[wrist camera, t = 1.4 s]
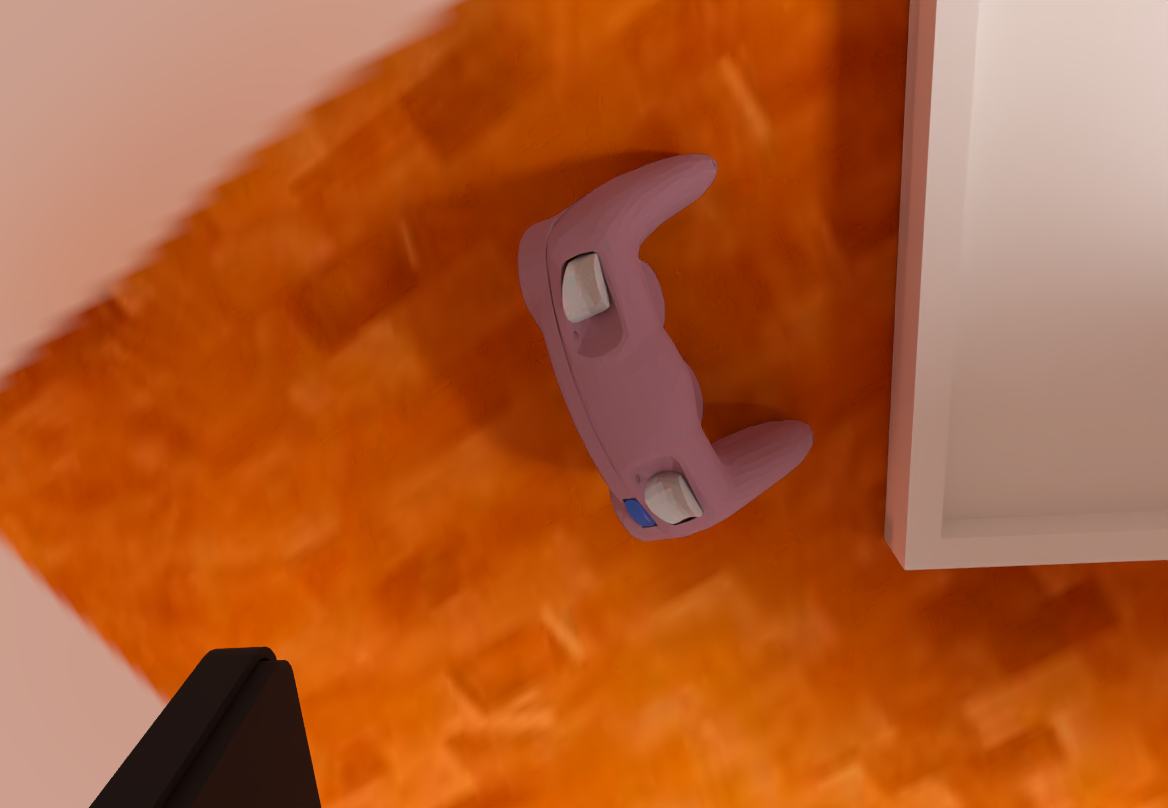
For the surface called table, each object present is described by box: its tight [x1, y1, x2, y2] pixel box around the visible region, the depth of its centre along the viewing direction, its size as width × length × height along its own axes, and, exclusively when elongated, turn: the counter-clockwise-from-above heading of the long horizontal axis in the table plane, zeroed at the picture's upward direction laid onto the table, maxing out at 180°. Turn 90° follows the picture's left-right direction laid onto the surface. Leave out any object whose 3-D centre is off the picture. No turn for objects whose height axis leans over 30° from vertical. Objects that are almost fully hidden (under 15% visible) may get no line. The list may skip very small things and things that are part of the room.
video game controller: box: [518, 153, 814, 541], centre depth 22 cm, size 10×5×7 cm, turn 23°
